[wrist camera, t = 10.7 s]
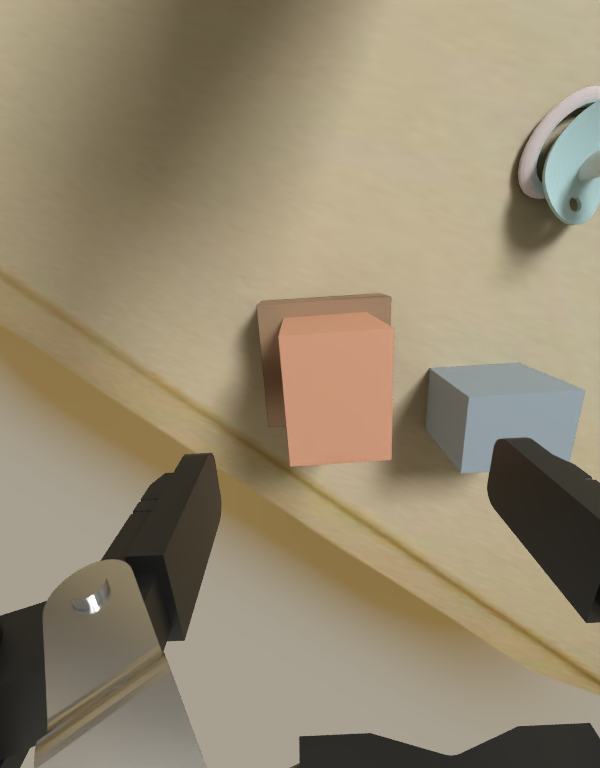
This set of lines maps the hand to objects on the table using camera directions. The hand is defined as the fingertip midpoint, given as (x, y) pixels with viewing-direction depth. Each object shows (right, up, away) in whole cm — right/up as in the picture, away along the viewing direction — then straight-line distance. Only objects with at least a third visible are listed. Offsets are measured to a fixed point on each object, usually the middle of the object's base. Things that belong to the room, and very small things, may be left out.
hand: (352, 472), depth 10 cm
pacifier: (+15, +16, +11) cm, 25 cm away
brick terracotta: (0, +4, +12) cm, 12 cm away
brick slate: (+11, +2, +16) cm, 19 cm away
